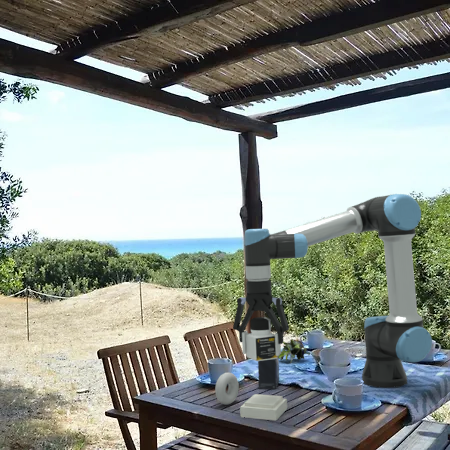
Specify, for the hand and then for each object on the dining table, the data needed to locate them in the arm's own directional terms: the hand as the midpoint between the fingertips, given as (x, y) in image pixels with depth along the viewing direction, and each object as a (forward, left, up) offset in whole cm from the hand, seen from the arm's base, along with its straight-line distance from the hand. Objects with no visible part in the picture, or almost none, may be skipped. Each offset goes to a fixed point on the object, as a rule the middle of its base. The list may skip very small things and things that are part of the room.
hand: (261, 353), depth 164 cm
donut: (+14, -5, -18) cm, 23 cm away
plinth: (0, 0, -18) cm, 18 cm away
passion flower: (+9, -64, -18) cm, 67 cm away
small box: (+8, -29, -18) cm, 35 cm away
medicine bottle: (0, 0, -1) cm, 1 cm away
